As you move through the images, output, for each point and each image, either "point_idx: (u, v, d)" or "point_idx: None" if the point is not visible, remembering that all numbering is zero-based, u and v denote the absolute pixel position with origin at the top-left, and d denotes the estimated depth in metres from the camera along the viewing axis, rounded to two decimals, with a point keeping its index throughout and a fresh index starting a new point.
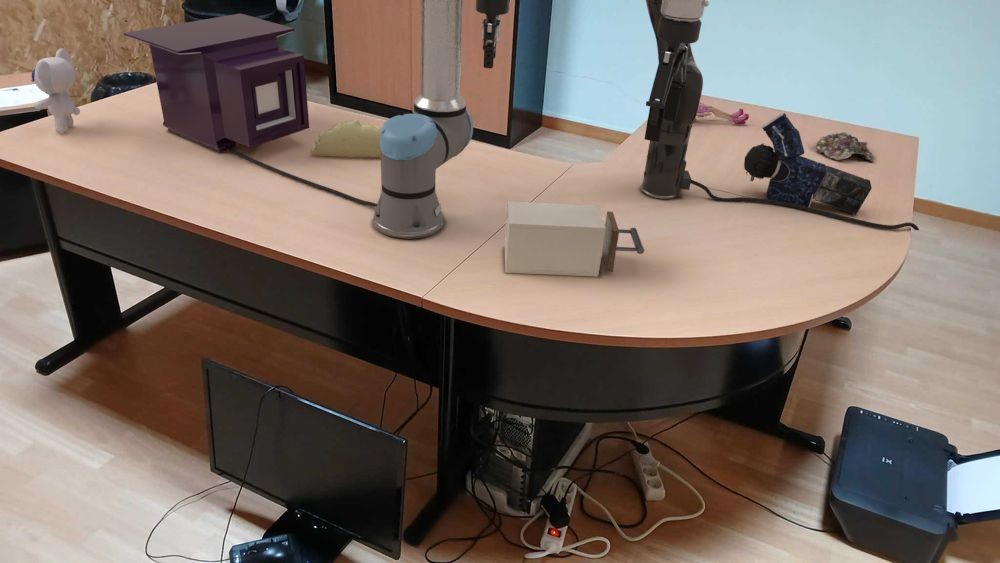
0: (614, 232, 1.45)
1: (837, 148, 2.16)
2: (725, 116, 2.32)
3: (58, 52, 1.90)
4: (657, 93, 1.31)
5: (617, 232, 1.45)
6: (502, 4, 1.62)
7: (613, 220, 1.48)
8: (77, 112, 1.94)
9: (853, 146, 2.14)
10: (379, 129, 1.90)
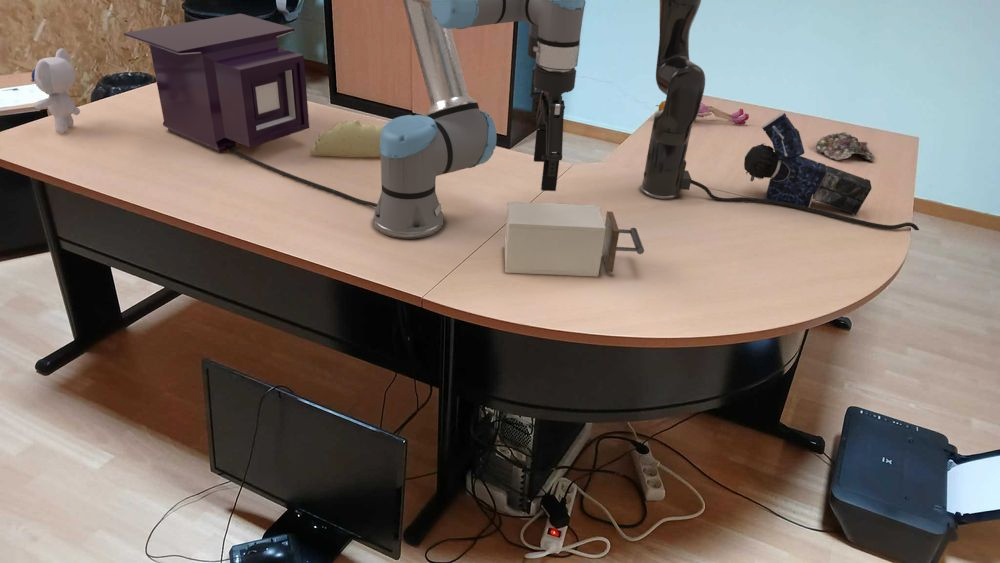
0: (614, 232, 1.45)
1: (837, 148, 2.16)
2: (725, 116, 2.32)
3: (58, 52, 1.90)
4: None
5: (617, 232, 1.45)
6: None
7: (613, 220, 1.48)
8: (77, 112, 1.94)
9: (853, 146, 2.14)
10: (379, 129, 1.90)
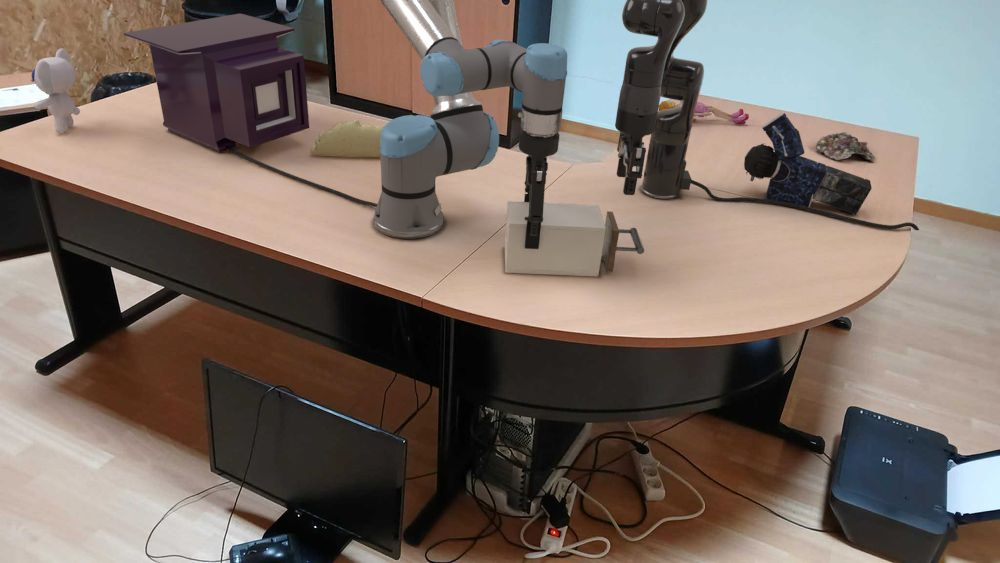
0: (614, 232, 1.45)
1: (837, 148, 2.16)
2: (725, 116, 2.32)
3: (58, 52, 1.90)
4: None
5: (617, 232, 1.45)
6: None
7: (613, 220, 1.48)
8: (77, 112, 1.94)
9: (853, 146, 2.14)
10: (379, 129, 1.90)
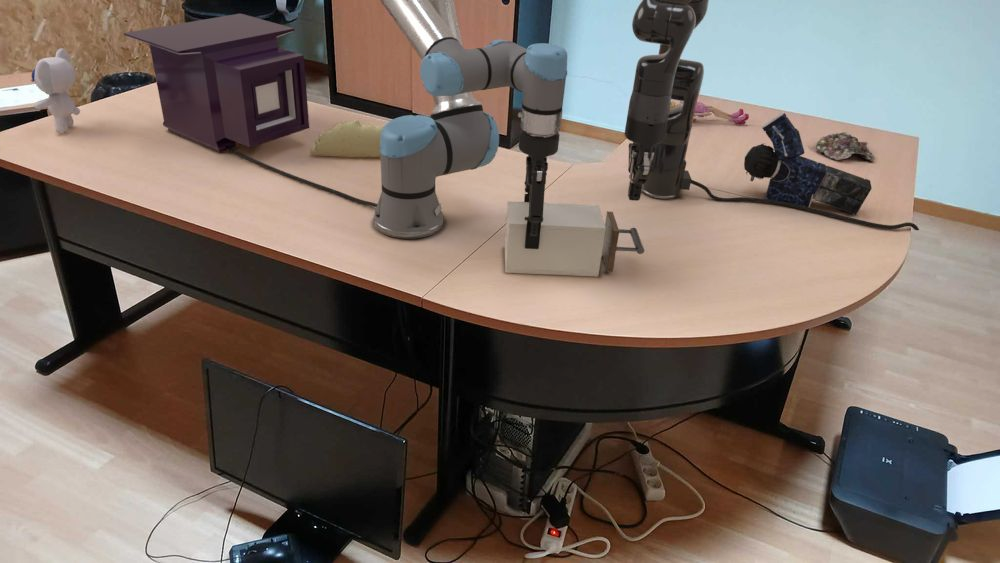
0: (614, 232, 1.45)
1: (837, 148, 2.16)
2: (725, 116, 2.32)
3: (58, 52, 1.90)
4: None
5: (617, 232, 1.45)
6: None
7: (613, 220, 1.48)
8: (77, 112, 1.94)
9: (853, 146, 2.14)
10: (379, 129, 1.90)
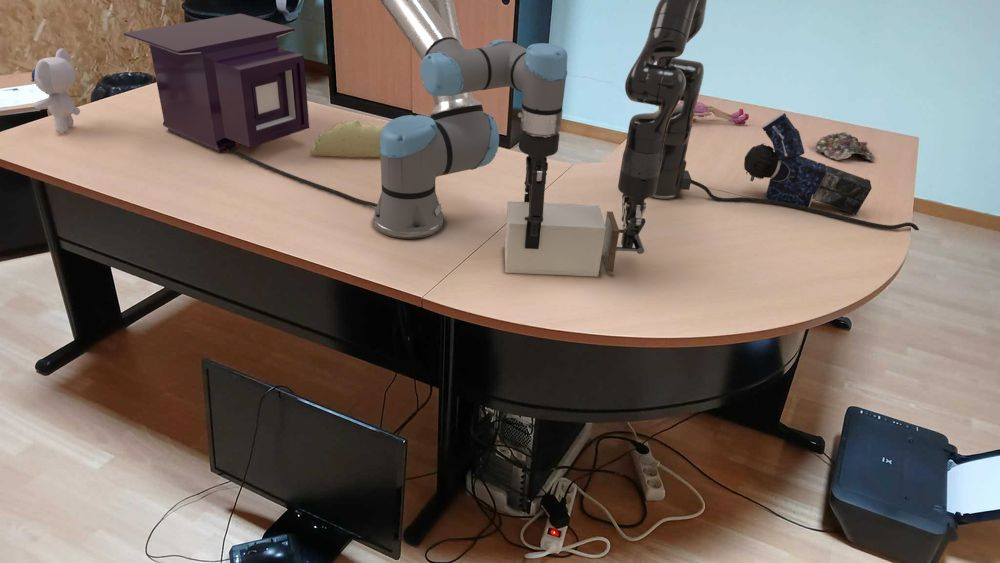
0: (614, 232, 1.45)
1: (837, 148, 2.16)
2: (725, 116, 2.32)
3: (58, 52, 1.90)
4: None
5: (617, 232, 1.45)
6: None
7: (613, 220, 1.48)
8: (77, 112, 1.94)
9: (853, 146, 2.14)
10: (379, 129, 1.90)
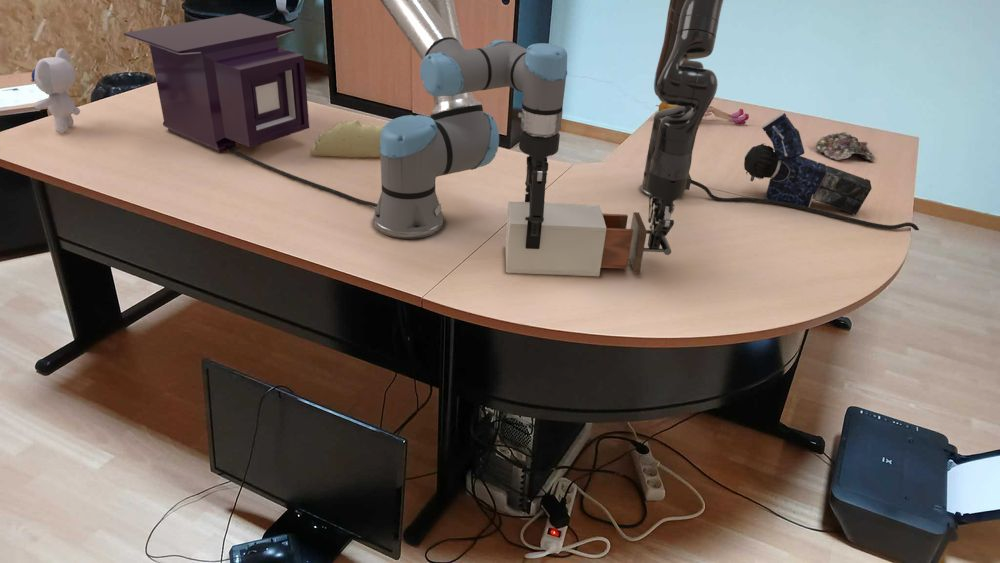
0: (642, 233, 1.45)
1: (837, 148, 2.16)
2: (725, 116, 2.32)
3: (58, 52, 1.90)
4: None
5: (645, 233, 1.45)
6: None
7: (640, 221, 1.48)
8: (77, 112, 1.94)
9: (853, 146, 2.14)
10: (379, 129, 1.90)
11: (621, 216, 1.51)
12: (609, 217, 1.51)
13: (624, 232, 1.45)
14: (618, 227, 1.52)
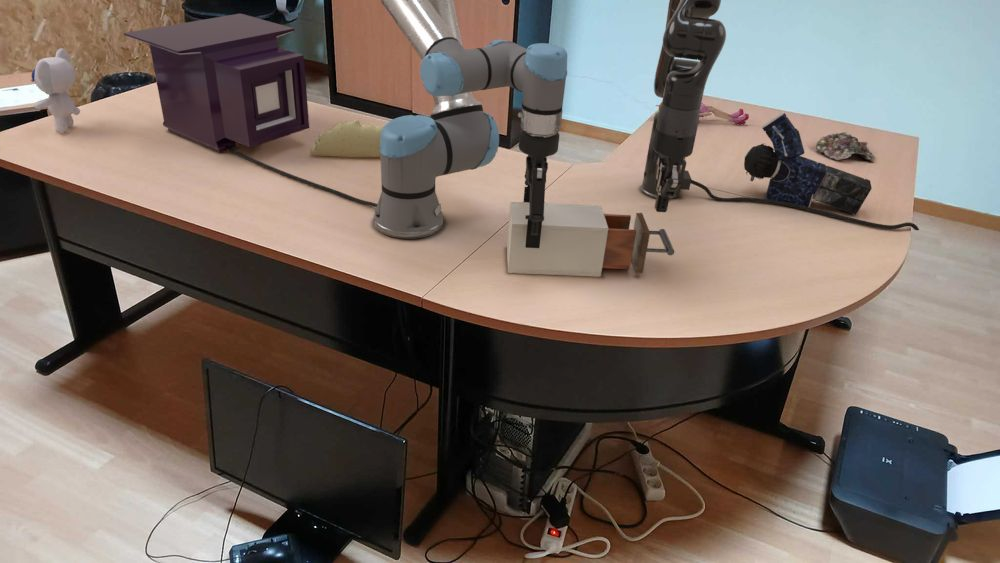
0: (645, 233, 1.45)
1: (837, 148, 2.16)
2: (725, 116, 2.32)
3: (58, 52, 1.90)
4: None
5: (648, 233, 1.45)
6: None
7: (643, 221, 1.49)
8: (77, 112, 1.94)
9: (853, 146, 2.14)
10: (379, 129, 1.90)
11: (624, 216, 1.51)
12: (612, 217, 1.51)
13: (627, 232, 1.45)
14: (621, 227, 1.52)
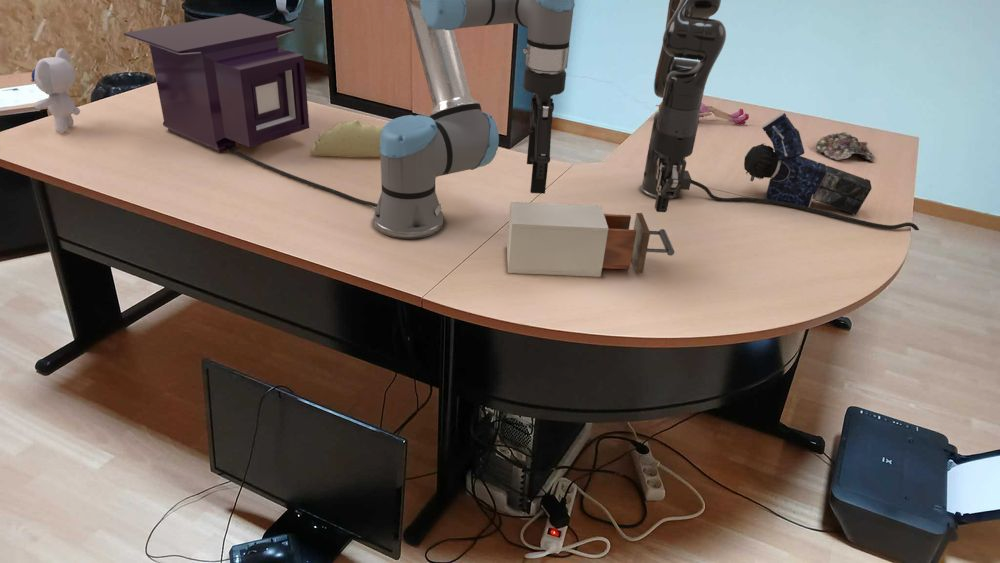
0: (645, 234, 1.45)
1: (837, 148, 2.16)
2: (725, 116, 2.32)
3: (58, 52, 1.90)
4: None
5: (648, 234, 1.45)
6: None
7: (643, 222, 1.49)
8: (77, 112, 1.94)
9: (853, 146, 2.14)
10: (379, 129, 1.90)
11: (624, 217, 1.51)
12: (612, 218, 1.51)
13: (627, 233, 1.45)
14: (621, 228, 1.52)
